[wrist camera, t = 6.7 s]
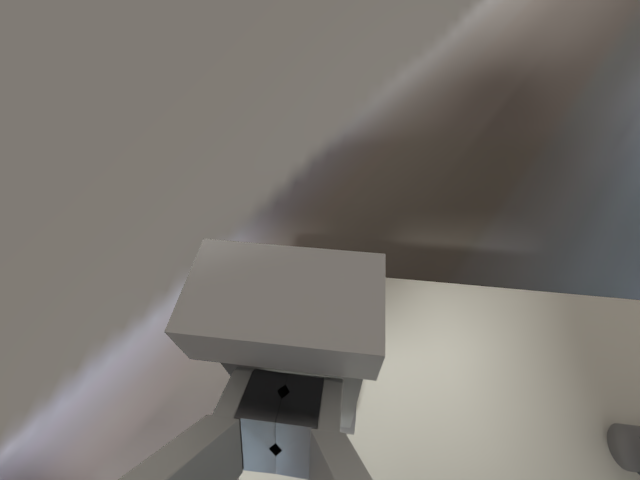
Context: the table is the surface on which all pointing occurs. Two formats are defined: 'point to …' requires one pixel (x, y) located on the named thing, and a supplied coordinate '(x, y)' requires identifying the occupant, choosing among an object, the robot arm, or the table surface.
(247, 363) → the lever
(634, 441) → the lever
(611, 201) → the table surface
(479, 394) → the switch panel
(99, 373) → the table surface
